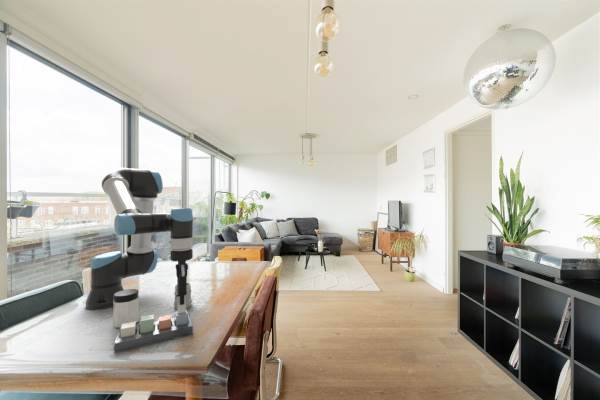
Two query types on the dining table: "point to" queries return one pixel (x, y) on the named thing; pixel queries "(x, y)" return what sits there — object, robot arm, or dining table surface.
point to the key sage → (147, 323)
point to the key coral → (164, 322)
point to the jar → (125, 307)
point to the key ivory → (128, 329)
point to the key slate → (181, 318)
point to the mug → (188, 296)
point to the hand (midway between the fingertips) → (181, 312)
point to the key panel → (152, 335)
